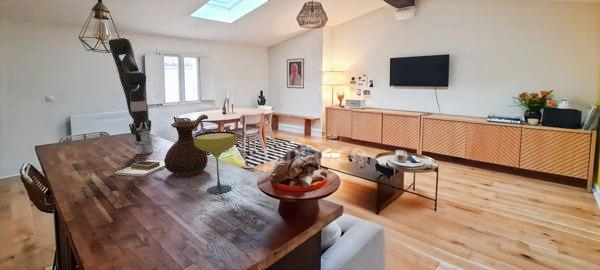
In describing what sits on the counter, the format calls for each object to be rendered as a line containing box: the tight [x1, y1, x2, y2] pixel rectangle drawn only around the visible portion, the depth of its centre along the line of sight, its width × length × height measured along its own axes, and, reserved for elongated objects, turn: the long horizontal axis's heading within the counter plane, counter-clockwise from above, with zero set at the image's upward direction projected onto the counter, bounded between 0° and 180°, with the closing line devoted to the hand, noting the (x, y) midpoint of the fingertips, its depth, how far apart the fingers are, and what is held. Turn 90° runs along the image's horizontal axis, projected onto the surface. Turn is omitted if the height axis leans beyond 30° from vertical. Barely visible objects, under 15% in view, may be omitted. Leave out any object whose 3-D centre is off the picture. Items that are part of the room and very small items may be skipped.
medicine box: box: [133, 129, 151, 146], centre depth 176 cm, size 8×4×9 cm, turn 62°
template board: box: [114, 159, 166, 177], centre depth 179 cm, size 24×18×3 cm
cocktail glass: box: [193, 130, 238, 195], centre depth 143 cm, size 18×18×25 cm
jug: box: [163, 114, 209, 178], centre depth 167 cm, size 22×22×30 cm
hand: (142, 140), depth 176 cm, fingers closed on medicine box, 5 cm apart
